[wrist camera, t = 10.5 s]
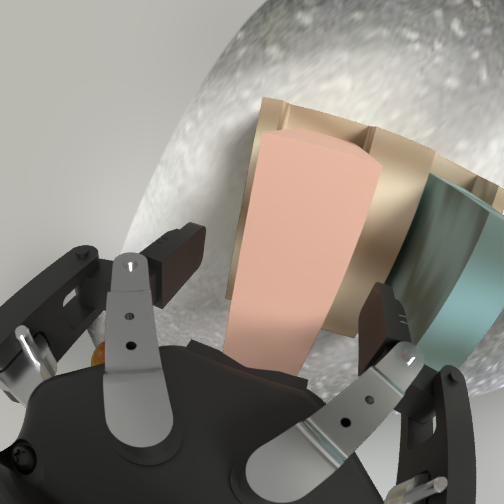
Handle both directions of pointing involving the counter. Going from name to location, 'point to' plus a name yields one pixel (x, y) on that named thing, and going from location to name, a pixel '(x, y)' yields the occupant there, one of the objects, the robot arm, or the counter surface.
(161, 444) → the robot arm
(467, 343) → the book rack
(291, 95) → the counter surface
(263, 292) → the coral book
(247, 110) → the counter surface
